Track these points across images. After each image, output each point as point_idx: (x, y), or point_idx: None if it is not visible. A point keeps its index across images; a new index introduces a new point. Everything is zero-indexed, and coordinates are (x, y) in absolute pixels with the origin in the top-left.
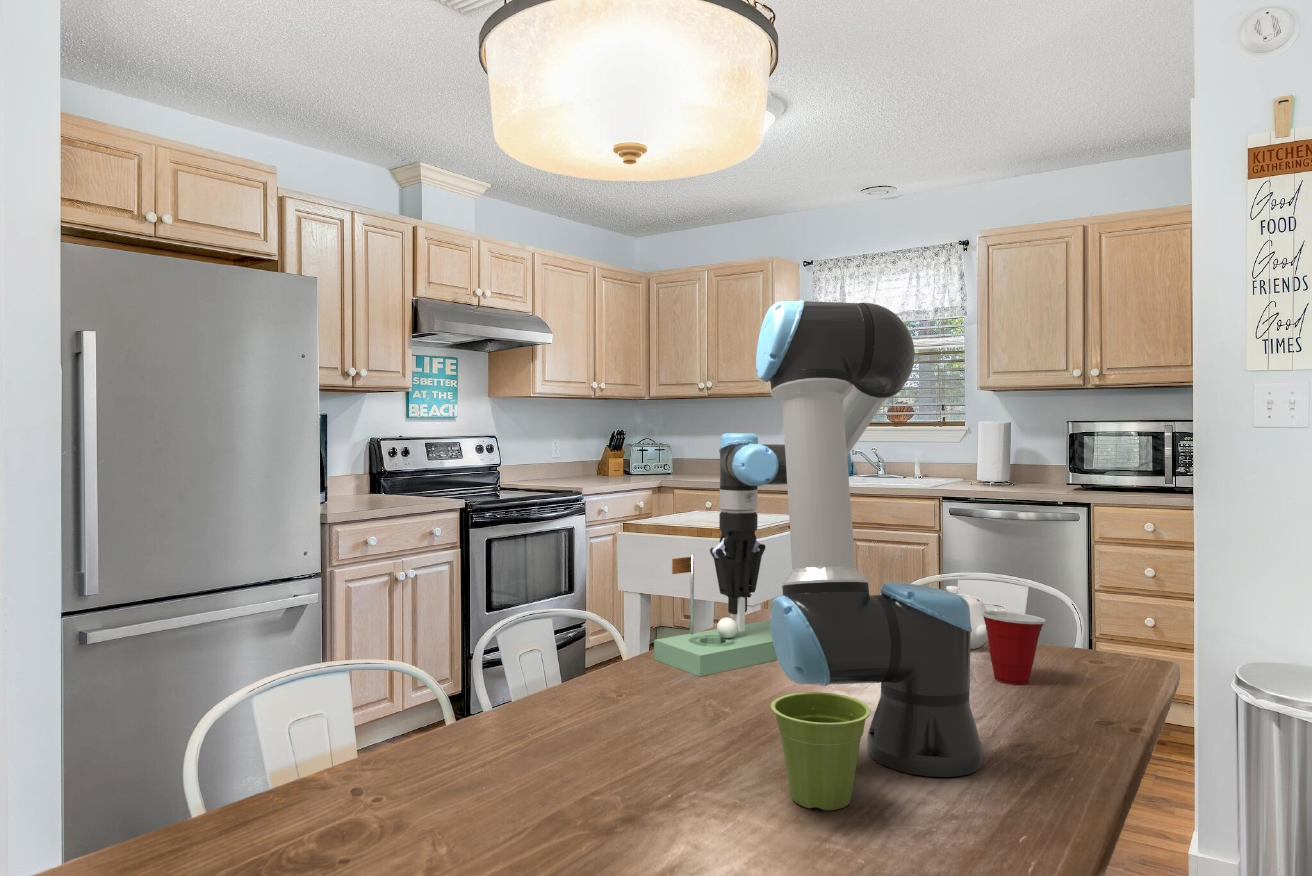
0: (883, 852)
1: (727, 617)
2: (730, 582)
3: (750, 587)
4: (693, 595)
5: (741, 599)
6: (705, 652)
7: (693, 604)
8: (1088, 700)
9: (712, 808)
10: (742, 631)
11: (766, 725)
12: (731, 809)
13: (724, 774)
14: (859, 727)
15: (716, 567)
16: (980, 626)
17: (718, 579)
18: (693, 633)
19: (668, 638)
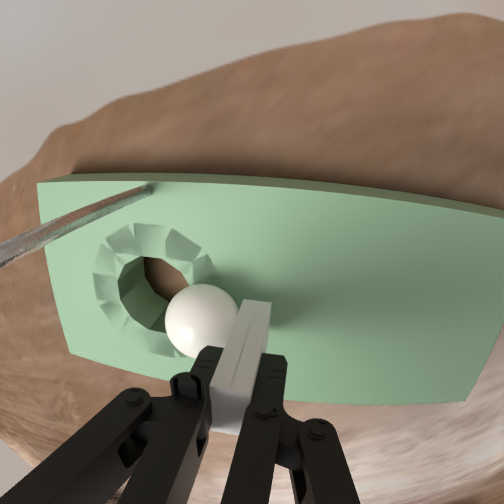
0: None
1: (194, 342)
2: (125, 477)
3: (290, 472)
4: (52, 241)
5: (224, 429)
6: (87, 348)
7: (83, 225)
8: None
9: (28, 450)
10: (326, 279)
11: None
12: (35, 457)
13: (40, 447)
14: None
15: (25, 485)
16: None
17: (73, 442)
18: (158, 185)
19: (66, 193)
